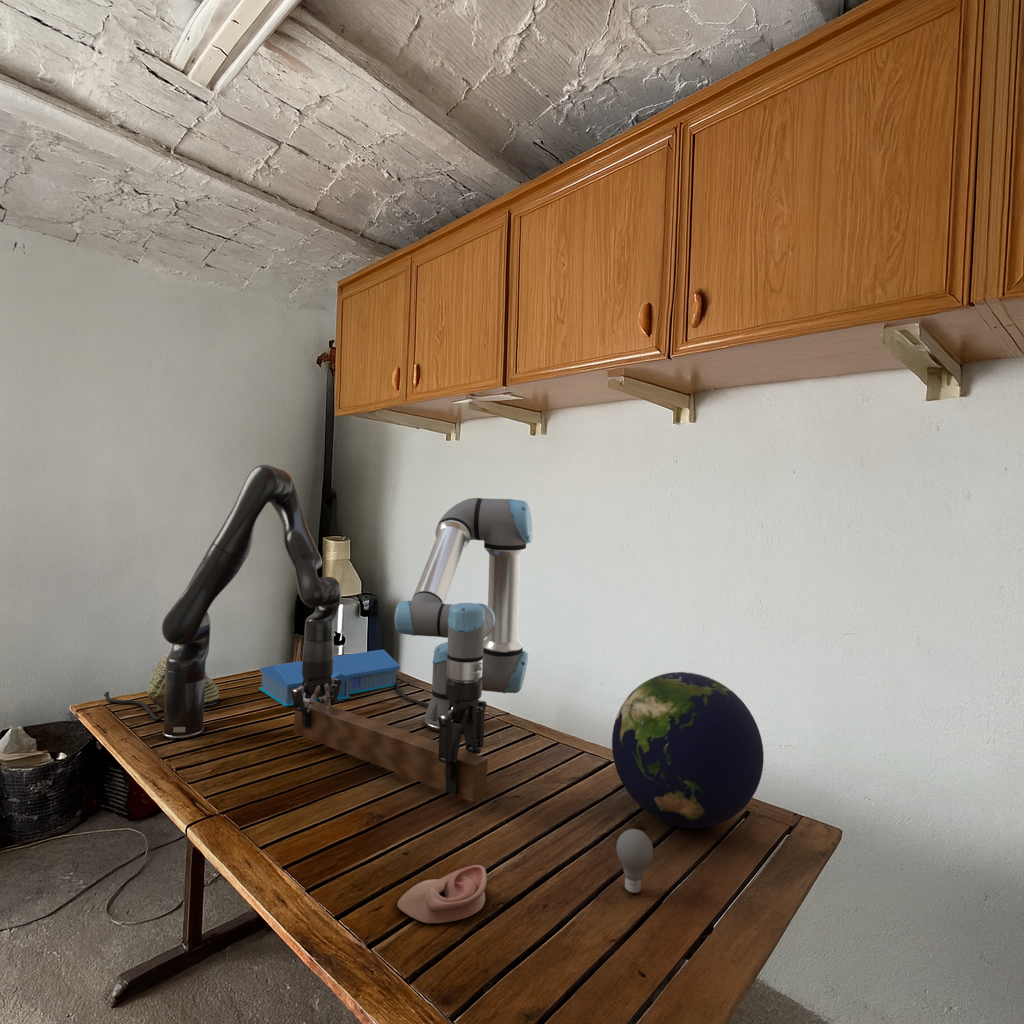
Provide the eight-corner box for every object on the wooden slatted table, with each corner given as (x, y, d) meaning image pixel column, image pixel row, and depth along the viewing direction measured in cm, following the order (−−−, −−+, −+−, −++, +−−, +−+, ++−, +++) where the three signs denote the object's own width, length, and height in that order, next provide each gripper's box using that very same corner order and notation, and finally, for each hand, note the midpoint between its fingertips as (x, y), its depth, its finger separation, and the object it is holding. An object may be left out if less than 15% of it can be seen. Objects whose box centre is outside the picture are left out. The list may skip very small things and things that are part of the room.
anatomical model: (390, 891, 96) (416, 850, 108) (389, 917, 96) (415, 874, 108) (474, 906, 94) (492, 863, 105) (473, 932, 94) (491, 887, 105)
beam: (293, 733, 161) (295, 703, 161) (308, 728, 165) (310, 699, 164) (472, 802, 128) (474, 765, 128) (486, 794, 132) (487, 758, 132)
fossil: (144, 707, 182) (145, 655, 182) (212, 696, 194) (213, 647, 194) (151, 716, 175) (153, 662, 175) (221, 703, 188) (223, 653, 188)
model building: (289, 709, 186) (291, 675, 185) (258, 688, 204) (259, 657, 204) (403, 687, 212) (405, 657, 212) (366, 670, 230) (368, 643, 230)
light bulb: (610, 879, 108) (613, 822, 108) (644, 879, 109) (647, 822, 109) (619, 902, 102) (622, 840, 102) (655, 901, 103) (658, 840, 103)
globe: (592, 836, 122) (599, 682, 122) (625, 776, 150) (631, 650, 149) (758, 877, 111) (767, 707, 110) (760, 804, 139) (767, 668, 138)
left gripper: (304, 665, 151) (301, 735, 152) (350, 654, 163) (347, 720, 163) (284, 659, 155) (281, 728, 156) (331, 649, 167) (328, 713, 168)
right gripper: (450, 692, 123) (446, 810, 124) (503, 672, 138) (499, 778, 138) (422, 684, 127) (417, 798, 128) (476, 666, 142) (472, 768, 143)
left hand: (315, 723), depth 160 cm, fingers closed on beam, 4 cm apart
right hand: (460, 787), depth 133 cm, fingers closed on beam, 5 cm apart
